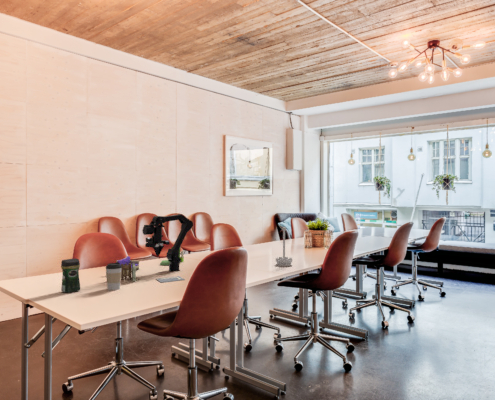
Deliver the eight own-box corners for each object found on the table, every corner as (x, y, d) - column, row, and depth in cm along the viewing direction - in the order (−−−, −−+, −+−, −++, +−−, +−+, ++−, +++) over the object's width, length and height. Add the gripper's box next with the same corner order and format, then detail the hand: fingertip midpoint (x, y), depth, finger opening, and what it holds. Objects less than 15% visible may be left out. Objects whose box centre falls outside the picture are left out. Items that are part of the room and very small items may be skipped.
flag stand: (293, 266, 297) (293, 227, 296) (276, 266, 297) (276, 227, 296) (291, 263, 310) (291, 226, 309) (275, 263, 310) (275, 226, 309)
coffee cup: (112, 291, 220) (112, 265, 220) (102, 289, 225) (102, 263, 224) (125, 288, 228) (125, 262, 227) (115, 286, 232) (114, 261, 232)
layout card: (179, 276, 259) (179, 276, 259) (184, 279, 250) (184, 279, 250) (155, 279, 251) (155, 278, 251) (160, 282, 242) (160, 282, 242)
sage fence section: (131, 277, 255) (131, 262, 255) (135, 277, 255) (135, 262, 255) (132, 281, 243) (132, 266, 243) (135, 281, 244) (135, 266, 244)
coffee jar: (76, 288, 226) (76, 257, 226) (81, 291, 220) (81, 258, 220) (59, 291, 219) (59, 259, 219) (64, 294, 214) (64, 260, 213)
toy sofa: (127, 275, 263) (127, 260, 263) (115, 275, 264) (115, 260, 264) (139, 269, 284) (139, 255, 283) (128, 269, 285) (128, 255, 284)
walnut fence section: (130, 278, 254) (130, 263, 254) (131, 278, 253) (131, 263, 253) (112, 280, 248) (112, 264, 248) (113, 280, 247) (113, 265, 247)
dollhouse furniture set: (159, 266, 298) (159, 251, 298) (169, 259, 327) (169, 246, 327) (177, 266, 297) (177, 252, 297) (186, 259, 326) (186, 246, 326)
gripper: (158, 232, 283) (158, 253, 283) (139, 234, 266) (139, 256, 267) (169, 232, 277) (169, 254, 277) (151, 235, 261) (151, 258, 261)
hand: (157, 256), depth 271 cm, fingers closed
